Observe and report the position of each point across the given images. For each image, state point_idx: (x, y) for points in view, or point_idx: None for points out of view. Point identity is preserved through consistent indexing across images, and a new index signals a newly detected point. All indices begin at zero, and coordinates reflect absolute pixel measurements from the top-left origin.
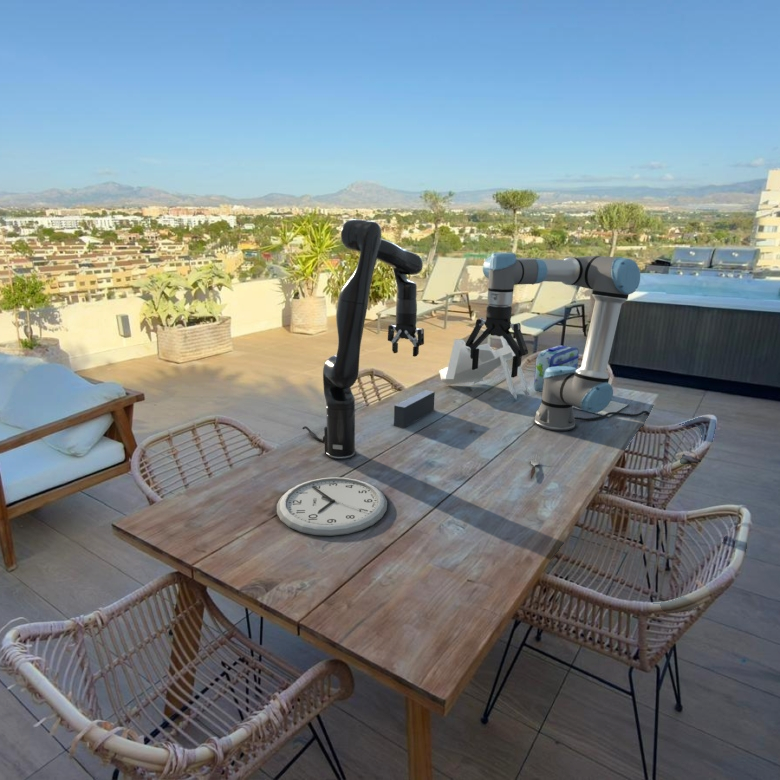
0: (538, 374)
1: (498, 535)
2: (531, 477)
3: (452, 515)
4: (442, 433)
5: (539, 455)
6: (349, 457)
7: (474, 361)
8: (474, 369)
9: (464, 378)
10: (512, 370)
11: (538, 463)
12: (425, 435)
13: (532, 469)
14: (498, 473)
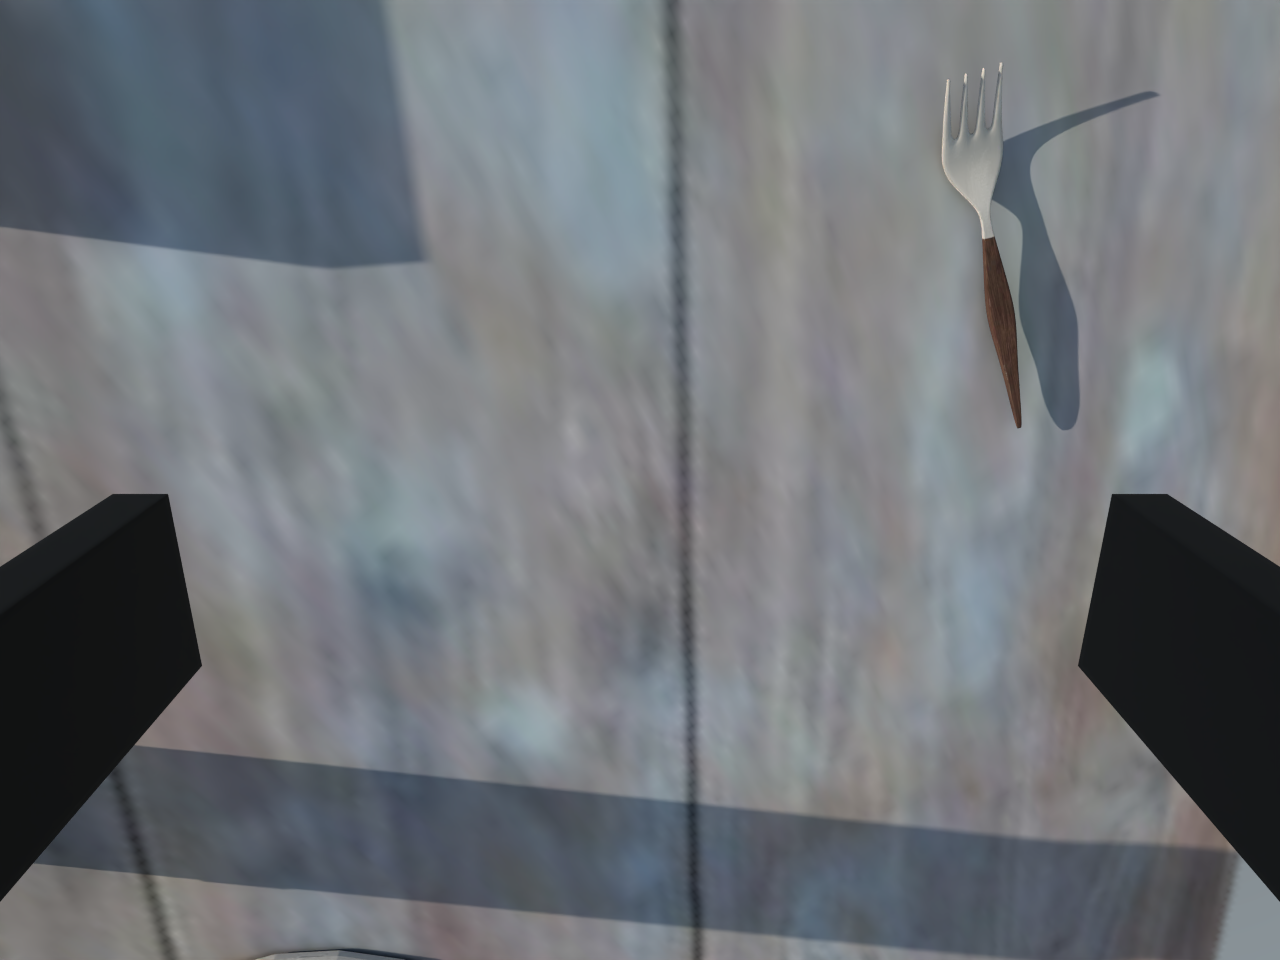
0: None
1: (1018, 947)
2: (1019, 417)
3: (793, 933)
4: (89, 61)
5: (1000, 73)
6: None
7: (89, 792)
8: (194, 643)
9: None
10: (1176, 761)
11: (999, 150)
12: (29, 202)
13: (995, 304)
14: (802, 454)
